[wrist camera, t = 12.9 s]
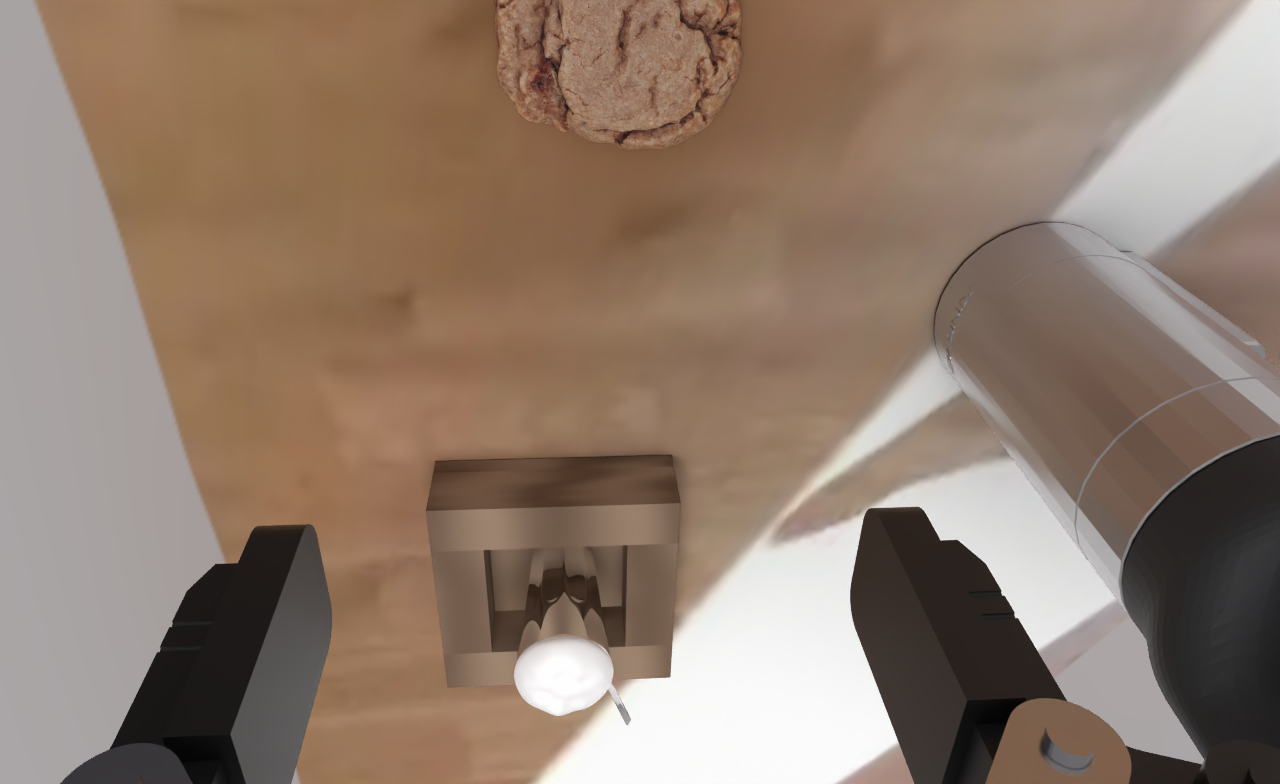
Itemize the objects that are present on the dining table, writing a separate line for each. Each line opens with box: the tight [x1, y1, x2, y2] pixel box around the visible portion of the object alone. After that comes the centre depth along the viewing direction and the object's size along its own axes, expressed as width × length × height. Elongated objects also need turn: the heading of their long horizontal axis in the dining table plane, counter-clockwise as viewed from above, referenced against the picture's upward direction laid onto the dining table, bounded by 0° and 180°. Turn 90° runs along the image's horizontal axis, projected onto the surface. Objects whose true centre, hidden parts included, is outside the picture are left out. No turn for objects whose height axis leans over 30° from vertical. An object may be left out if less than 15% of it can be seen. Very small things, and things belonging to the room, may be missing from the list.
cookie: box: [494, 0, 743, 150], centre depth 35 cm, size 10×11×3 cm
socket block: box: [426, 455, 681, 688], centre depth 48 cm, size 12×12×4 cm
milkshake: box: [514, 547, 631, 725], centre depth 45 cm, size 4×5×10 cm
